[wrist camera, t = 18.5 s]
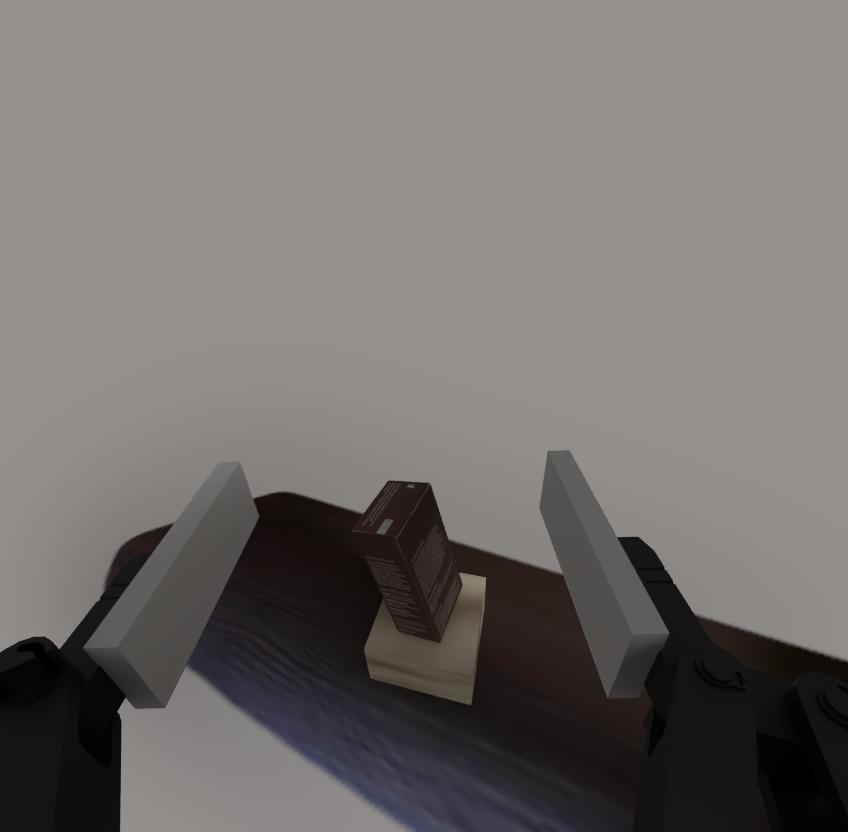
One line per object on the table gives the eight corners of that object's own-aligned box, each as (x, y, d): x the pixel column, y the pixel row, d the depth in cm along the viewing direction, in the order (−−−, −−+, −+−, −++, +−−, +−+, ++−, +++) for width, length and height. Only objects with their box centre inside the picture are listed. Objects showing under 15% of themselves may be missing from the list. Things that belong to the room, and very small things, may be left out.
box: (421, 576, 38) (387, 477, 33) (464, 586, 36) (435, 481, 31) (392, 633, 34) (347, 528, 28) (439, 648, 31) (401, 537, 26)
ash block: (471, 707, 33) (472, 676, 30) (370, 680, 35) (363, 649, 32) (484, 609, 40) (485, 577, 38) (400, 592, 42) (397, 561, 40)
